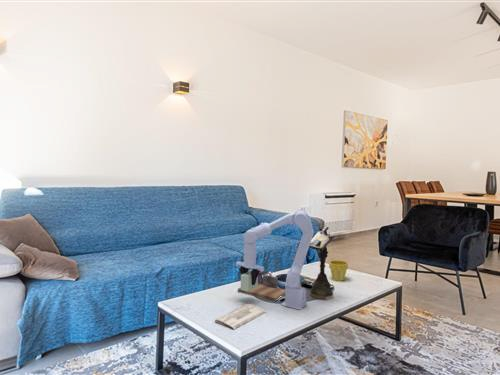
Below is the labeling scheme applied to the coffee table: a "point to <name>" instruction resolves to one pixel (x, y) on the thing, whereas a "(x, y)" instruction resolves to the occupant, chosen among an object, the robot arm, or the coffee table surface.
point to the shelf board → (266, 289)
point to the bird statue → (321, 266)
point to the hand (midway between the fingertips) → (249, 283)
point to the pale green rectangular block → (247, 281)
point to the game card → (260, 278)
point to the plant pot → (338, 269)
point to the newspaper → (241, 316)
